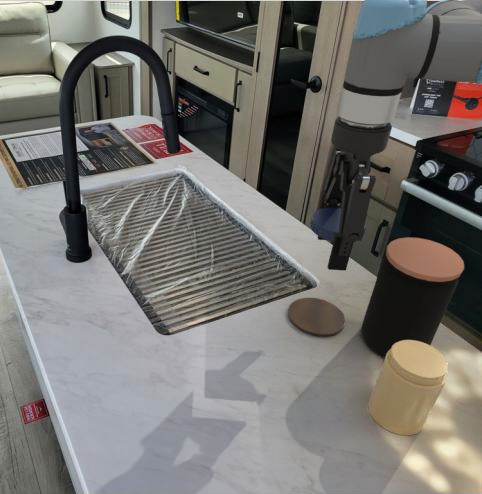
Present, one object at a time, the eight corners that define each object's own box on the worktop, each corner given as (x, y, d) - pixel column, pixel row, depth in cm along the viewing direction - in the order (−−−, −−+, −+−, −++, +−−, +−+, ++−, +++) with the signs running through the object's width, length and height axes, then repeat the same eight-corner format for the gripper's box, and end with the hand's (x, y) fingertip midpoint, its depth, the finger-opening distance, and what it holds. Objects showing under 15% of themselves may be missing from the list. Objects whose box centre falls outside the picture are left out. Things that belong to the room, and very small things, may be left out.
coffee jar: (420, 326, 85) (455, 242, 75) (432, 370, 76) (473, 282, 66) (357, 315, 87) (382, 233, 77) (362, 357, 79) (391, 270, 69)
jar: (413, 393, 73) (438, 339, 66) (432, 437, 66) (461, 382, 60) (362, 389, 73) (381, 335, 67) (376, 433, 67) (399, 377, 61)
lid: (300, 220, 79) (302, 211, 78) (343, 213, 81) (346, 204, 80) (328, 246, 72) (331, 237, 71) (374, 238, 74) (377, 229, 73)
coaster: (338, 301, 91) (338, 299, 90) (350, 338, 82) (351, 336, 82) (284, 298, 92) (285, 295, 91) (291, 334, 83) (292, 332, 83)
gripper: (418, 148, 58) (371, 294, 70) (371, 98, 75) (340, 222, 87) (354, 146, 58) (319, 291, 71) (322, 97, 75) (298, 220, 88)
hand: (330, 253), depth 79 cm, fingers closed on lid, 8 cm apart
